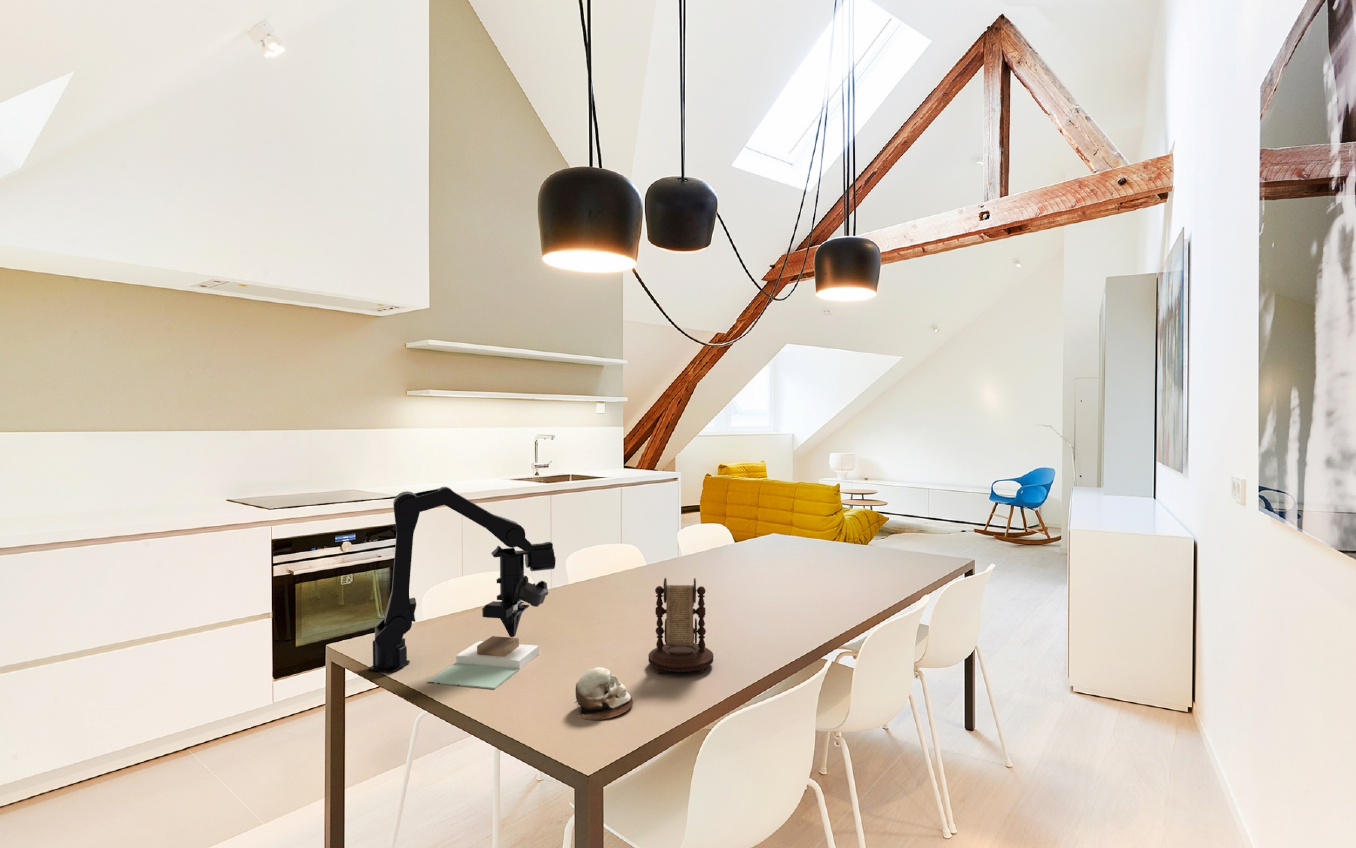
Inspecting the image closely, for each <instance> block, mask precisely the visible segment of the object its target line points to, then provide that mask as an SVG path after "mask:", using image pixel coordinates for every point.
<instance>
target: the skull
mask: <svg viewBox="0 0 1356 848" xmlns="http://www.w3.org/2000/svg"><path fill="white" fill-rule="evenodd" d="M611 672H612V671H611V670H609V669H607V668H605V667H602V666H599V667H598V666H597V667H592V668H591V669H589V670H587V671H585V673H584V674H583V675H581V676H580V678H579V679H578V680H577V682H576V683H575V684H576V685H575V699H576V701H575V702H574V704H576V703H577V706H579V707H580V708H578V709H580V710H578V711H579V713H578V714H576V715H578V718H579V719H582V720H589V721H592V720H595V721H597V720H605V719H611V718H614V717H617V716H620V715H622V714H624V713H626V712H627V711H628V710H630V709H631V707H632V706H633V704H634V700H633V698H632V696H631V694H630V693H628V692H627V689H626V686H625V685H624V684H623V683H621V680H619V679H618V678H617V676H616V675H614V674H612V675H611Z"/></svg>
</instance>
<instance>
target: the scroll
mask: <svg viewBox="0 0 1356 848" xmlns="http://www.w3.org/2000/svg"><path fill="white" fill-rule="evenodd" d="M667 582H668V581H667V577H664V579H663V587H662V586H660V585H658V586H656V587H655V589H654V591H655V594H656V595H655V597H656V603H655V605H656V607H655V611H654V612H655V613H654V614H655V616H656V618H657V620H656V622H655V623H656V628H655V633H656V635H657V636H656V639H657V640H656V644H655V646H656V647H655V648H654V649H652V650H650V652H649V653H648V663H649V664H650V665H651V666H652V667H654V668H655V670H656V671H655V672H656V673H657V674H658V675H659V674H661V672H662V671H665V672H675V673H687V672H694V671H695V672H696V671H698V673H699V674H700V675H703V674H704V669H705V668H707V667H709V666H710V665H712V664H713V662H714V653H713V651H712V650H710V649H709V648H707V647H706V642H705V638H706V636H705V635H706V633H707V630H706V628H705V625H706V623H705V620H704V618H706V617H705V616H706V607H705V604H706V603H705V599H704V598H706V596H705V593H706V588H705V587H704V586H702V585H701V586H699V587H697V580H696V577H694V578H693V584H692V585H691V584H668V583H667ZM697 594H698V595H697ZM697 597H698V601H697ZM696 602H697V605H698V607H697V608H694V606H695V604H696ZM664 604H666V608H664V606H663V605H664ZM664 615H666V616H665V618H664V620H665V621H664V622H663V617H664ZM694 615H697V616H698V618H699V619H698V620H697V618H696V617H695V618H694ZM663 625H664V627H663ZM663 635H664V636H663ZM663 638H664V641H663ZM661 670H662V671H661Z"/></svg>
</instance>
